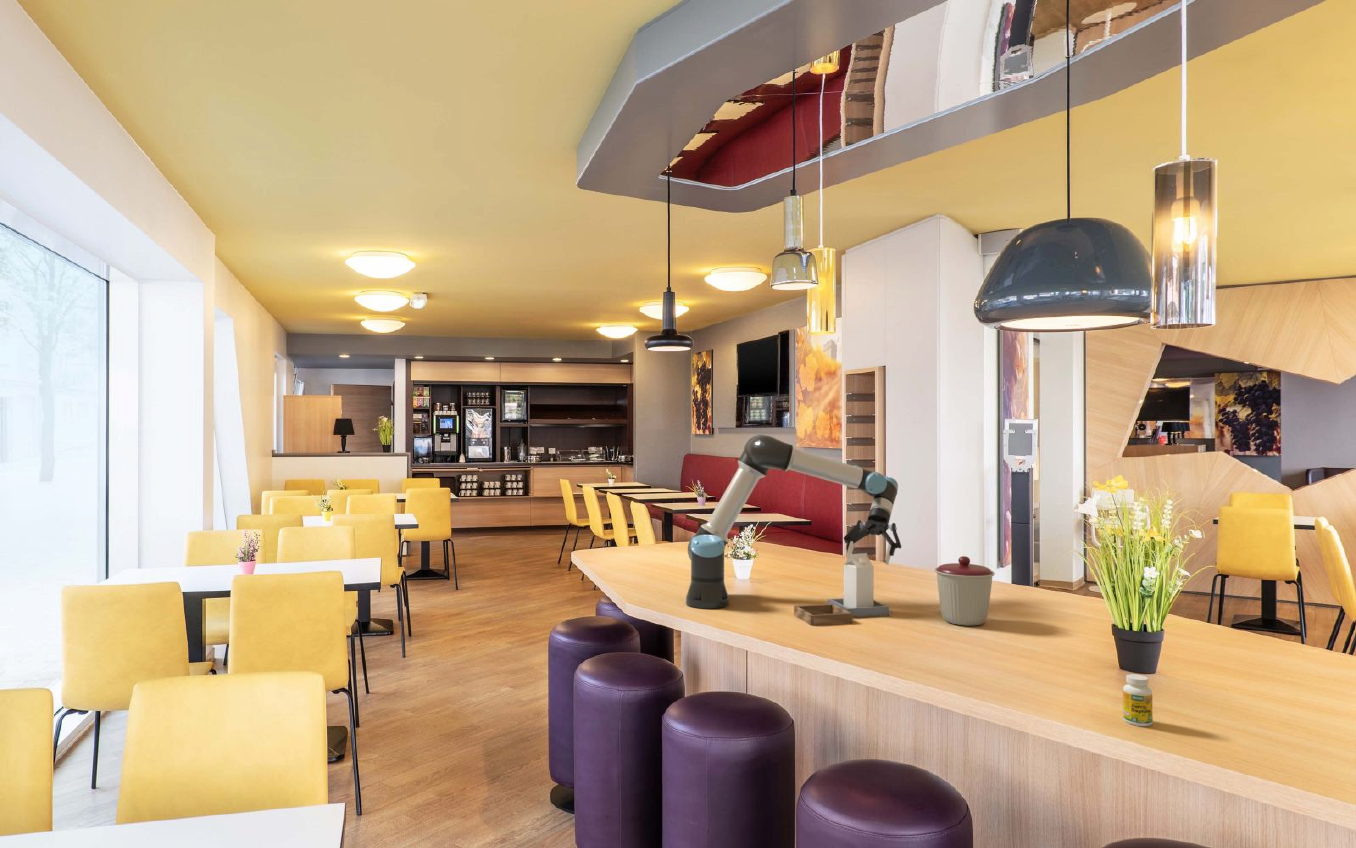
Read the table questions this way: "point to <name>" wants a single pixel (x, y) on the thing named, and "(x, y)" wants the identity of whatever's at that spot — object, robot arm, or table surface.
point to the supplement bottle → (1137, 701)
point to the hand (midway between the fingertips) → (867, 560)
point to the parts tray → (863, 608)
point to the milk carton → (858, 581)
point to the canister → (964, 592)
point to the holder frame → (822, 614)
